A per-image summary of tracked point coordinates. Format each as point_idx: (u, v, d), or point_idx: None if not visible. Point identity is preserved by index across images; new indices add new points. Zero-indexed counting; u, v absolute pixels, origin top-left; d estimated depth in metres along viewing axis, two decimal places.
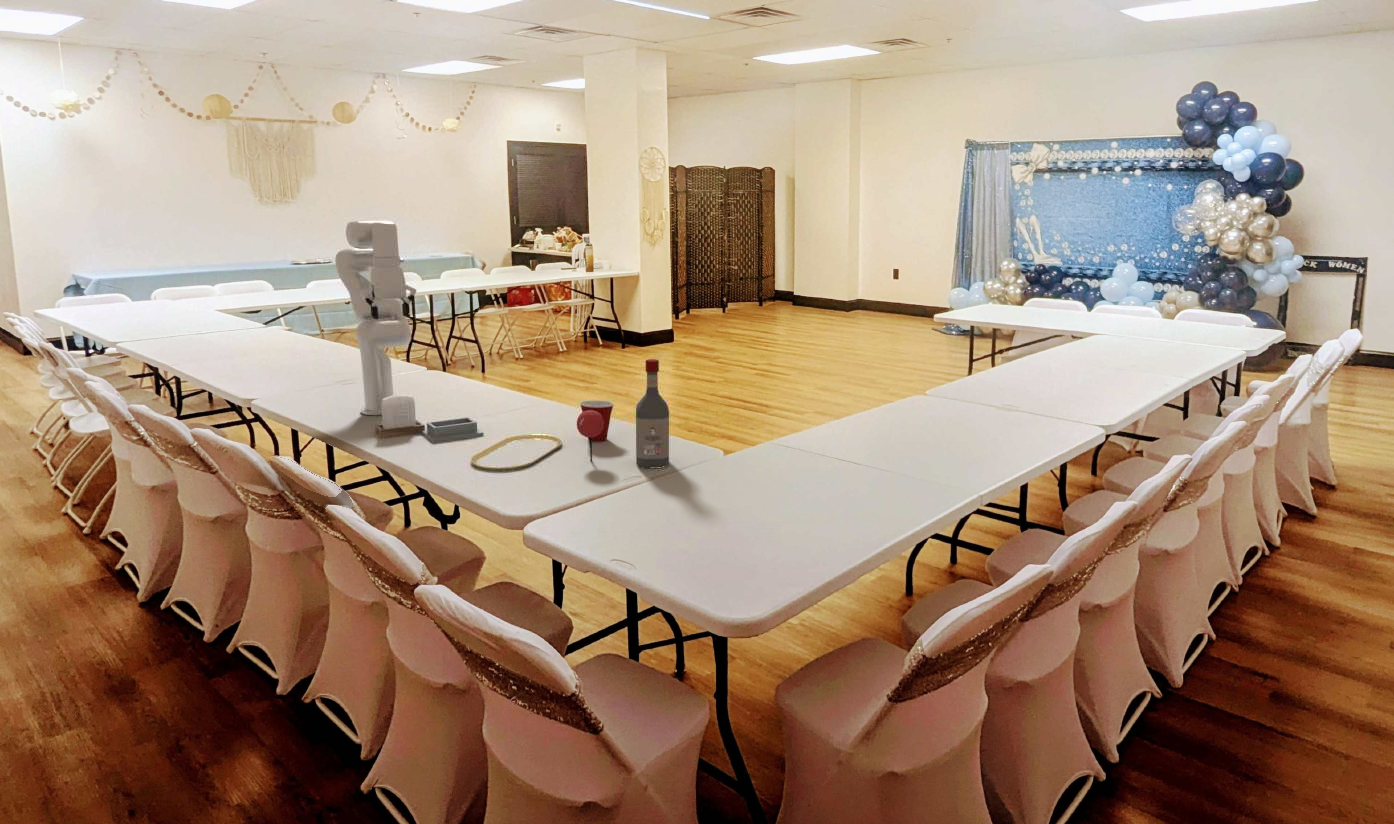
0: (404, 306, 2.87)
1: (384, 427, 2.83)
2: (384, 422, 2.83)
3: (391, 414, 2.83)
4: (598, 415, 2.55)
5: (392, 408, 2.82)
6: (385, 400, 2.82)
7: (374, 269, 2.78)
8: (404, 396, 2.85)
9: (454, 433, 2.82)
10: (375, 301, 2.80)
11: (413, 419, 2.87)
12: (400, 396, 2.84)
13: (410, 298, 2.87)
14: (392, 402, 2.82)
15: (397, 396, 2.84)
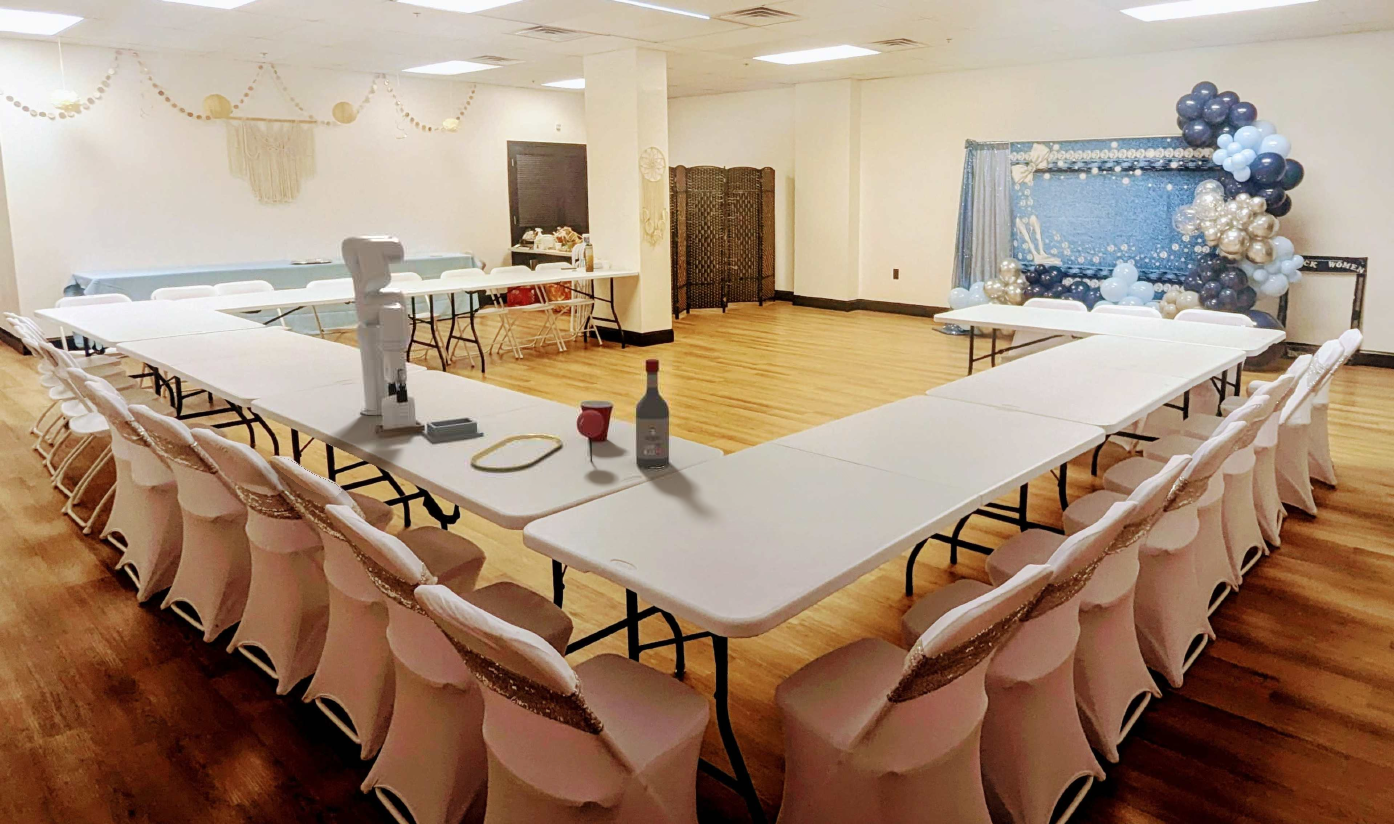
0: (395, 387, 2.87)
1: (384, 427, 2.83)
2: (384, 422, 2.83)
3: (391, 414, 2.83)
4: (598, 415, 2.55)
5: (392, 408, 2.82)
6: (385, 400, 2.82)
7: (401, 353, 2.78)
8: None
9: (454, 433, 2.82)
10: None
11: (413, 419, 2.87)
12: None
13: None
14: (392, 402, 2.82)
15: None
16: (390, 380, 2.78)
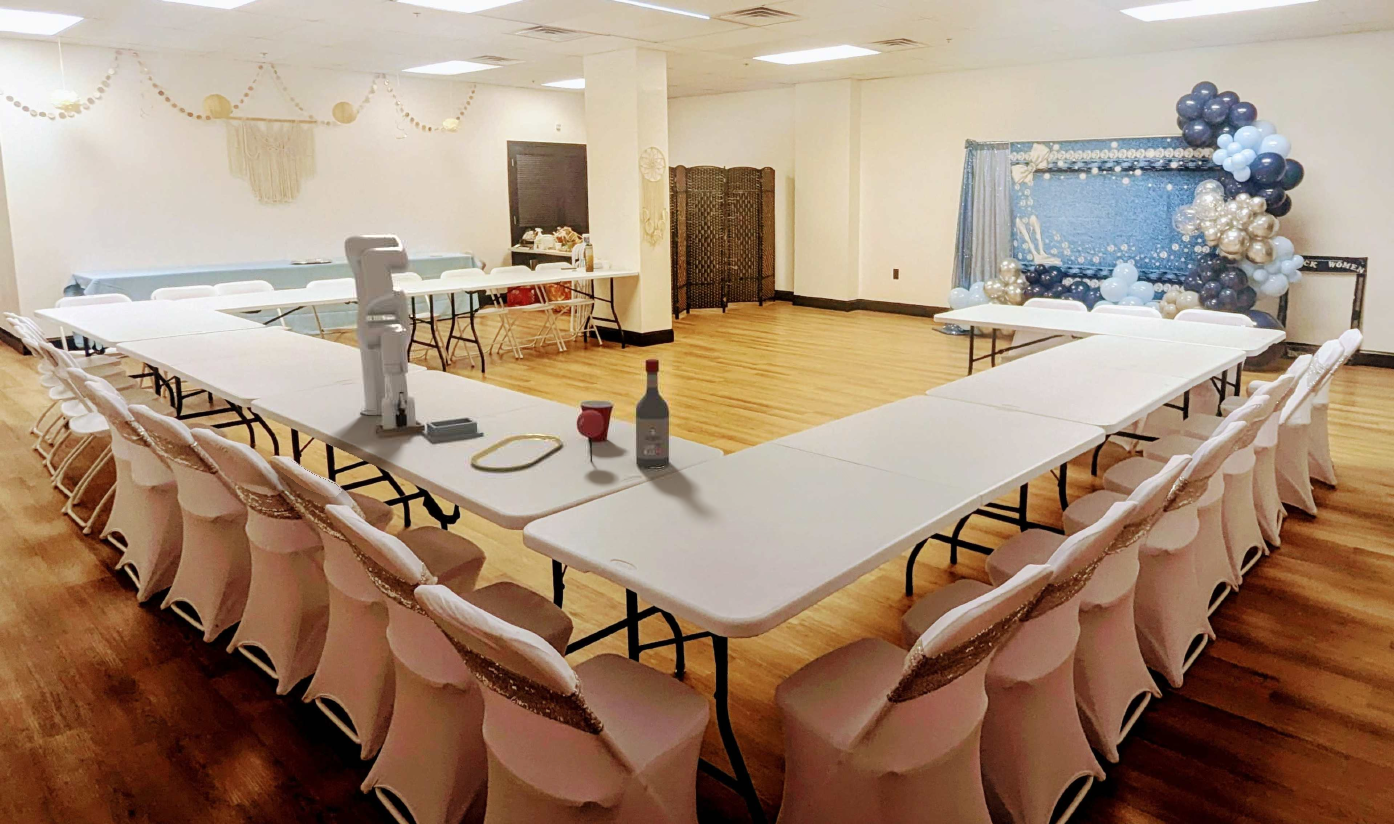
0: None
1: (384, 427, 2.83)
2: (384, 422, 2.83)
3: (391, 414, 2.82)
4: (598, 415, 2.55)
5: (392, 408, 2.82)
6: (385, 400, 2.82)
7: (402, 375, 2.80)
8: None
9: (454, 433, 2.82)
10: None
11: (413, 419, 2.87)
12: None
13: None
14: None
15: None
16: (391, 402, 2.80)
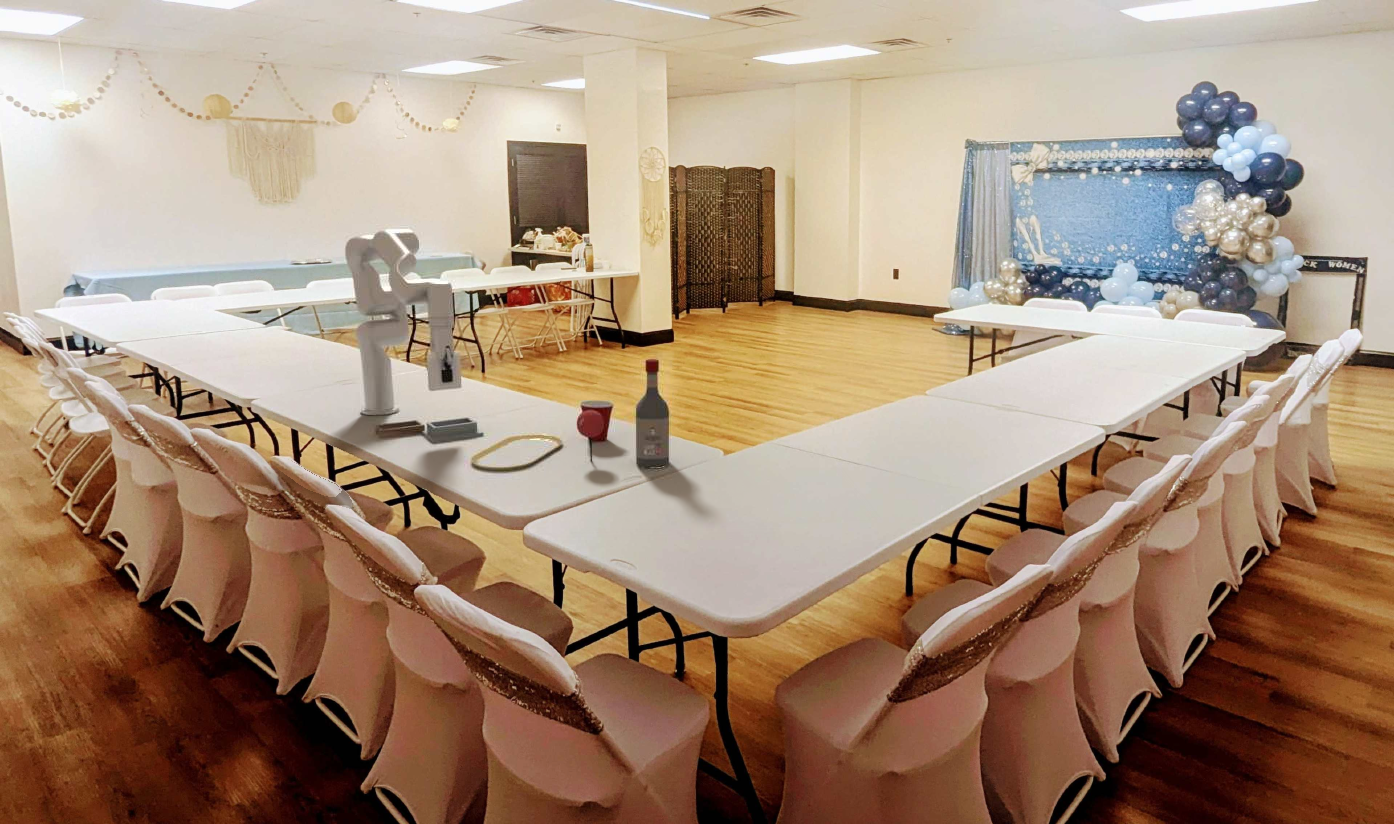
0: None
1: (429, 382, 2.78)
2: (429, 377, 2.78)
3: (436, 369, 2.77)
4: (598, 415, 2.55)
5: (438, 363, 2.77)
6: (431, 355, 2.77)
7: (449, 329, 2.75)
8: None
9: (454, 433, 2.82)
10: None
11: (458, 375, 2.82)
12: None
13: None
14: None
15: None
16: (437, 357, 2.75)
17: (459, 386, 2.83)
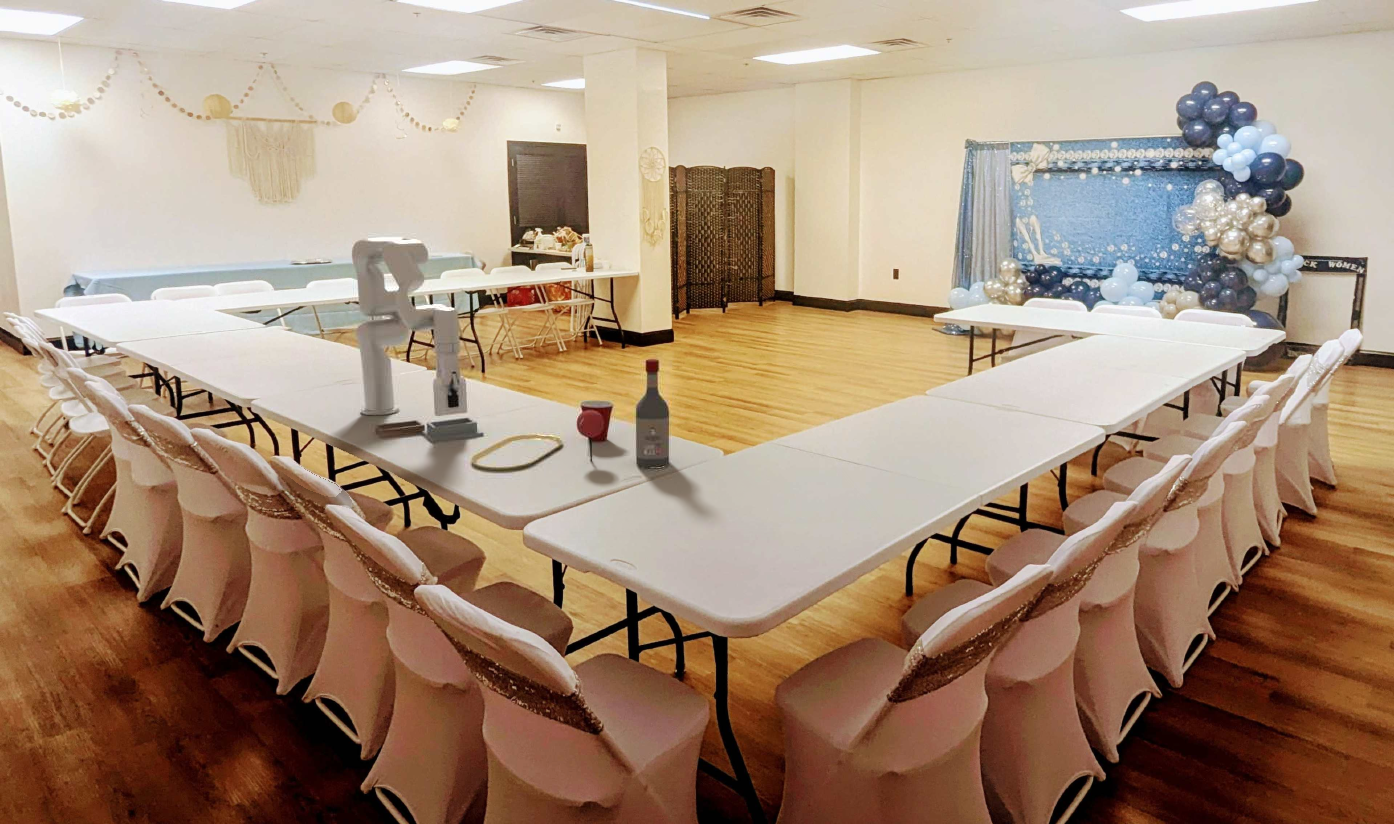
0: None
1: (436, 408, 2.80)
2: (436, 402, 2.80)
3: (442, 394, 2.79)
4: (598, 415, 2.55)
5: (444, 388, 2.79)
6: (437, 380, 2.78)
7: (455, 355, 2.77)
8: None
9: (454, 433, 2.82)
10: None
11: (464, 400, 2.84)
12: None
13: None
14: None
15: None
16: (444, 382, 2.77)
17: (465, 411, 2.84)
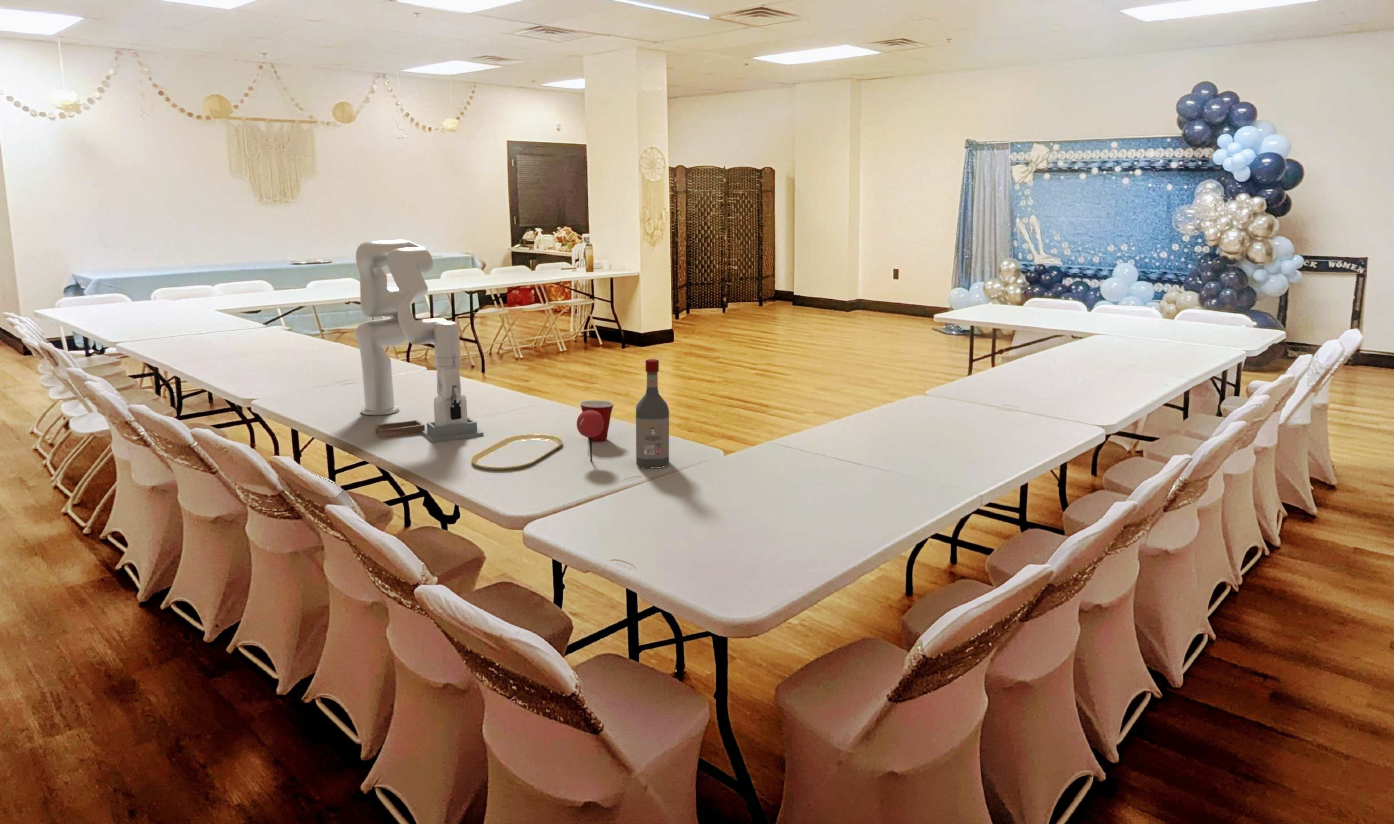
0: None
1: (436, 425, 2.82)
2: (436, 420, 2.81)
3: (443, 412, 2.81)
4: (598, 415, 2.55)
5: (444, 406, 2.81)
6: (437, 398, 2.80)
7: (456, 369, 2.78)
8: None
9: (454, 433, 2.82)
10: None
11: (465, 418, 2.85)
12: None
13: None
14: (444, 400, 2.80)
15: None
16: (444, 396, 2.78)
17: None
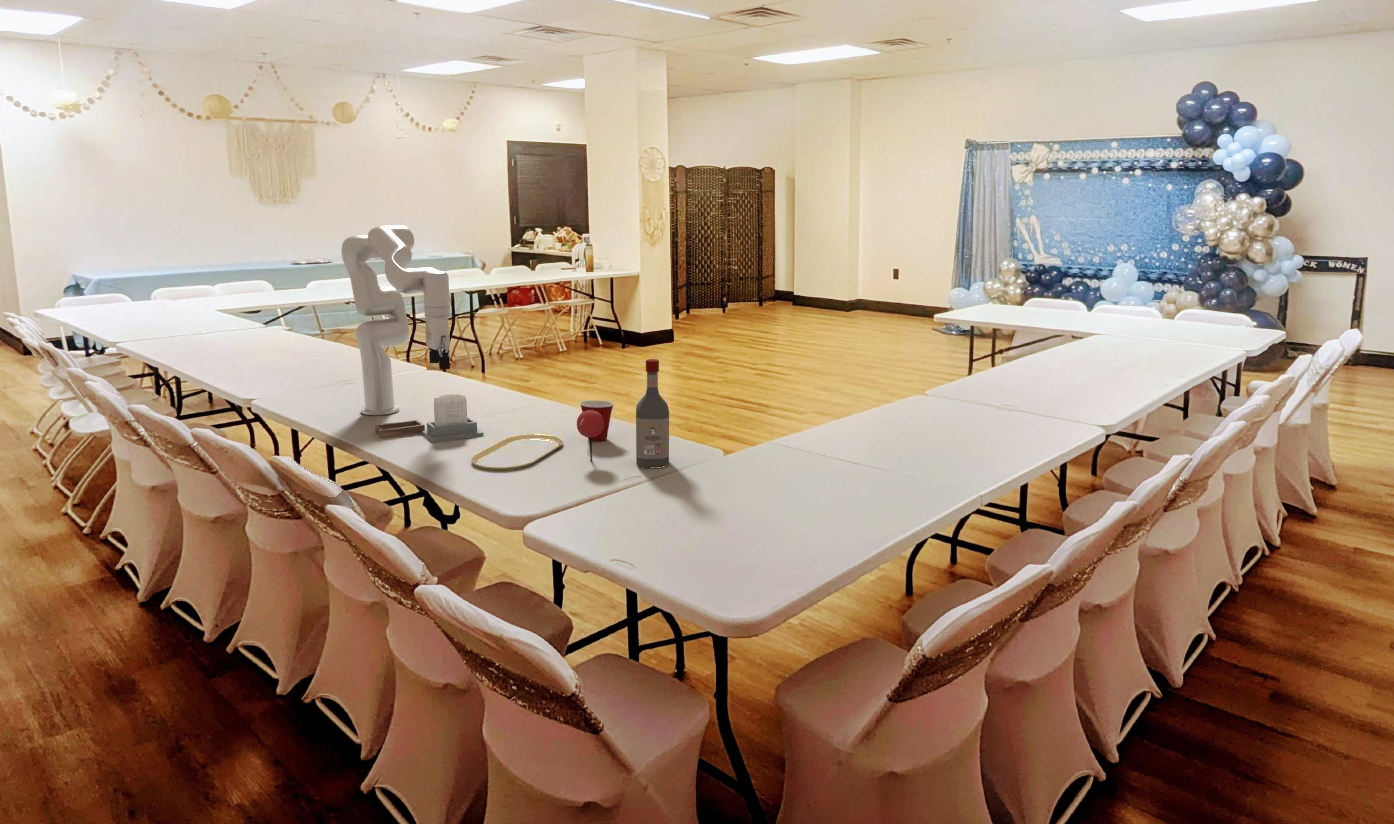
0: (436, 353, 2.85)
1: (436, 425, 2.82)
2: (436, 420, 2.81)
3: (443, 412, 2.81)
4: (598, 415, 2.55)
5: (444, 406, 2.81)
6: (437, 398, 2.80)
7: (445, 319, 2.75)
8: (456, 394, 2.83)
9: (454, 433, 2.82)
10: None
11: (465, 418, 2.85)
12: (452, 394, 2.82)
13: None
14: (444, 400, 2.80)
15: (449, 394, 2.82)
16: (433, 346, 2.76)
17: None
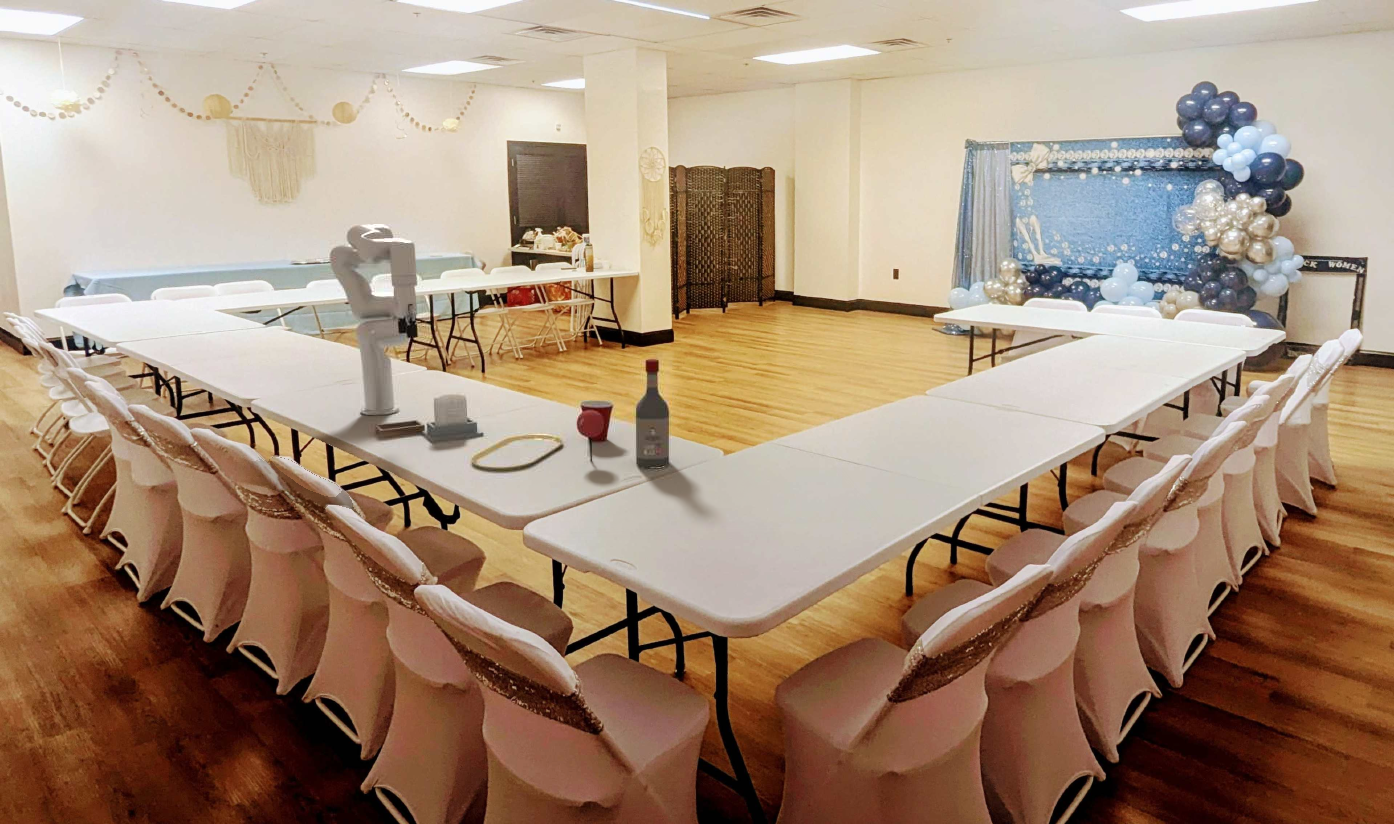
0: (404, 323, 2.89)
1: (436, 425, 2.82)
2: (436, 420, 2.81)
3: (443, 412, 2.81)
4: (598, 415, 2.55)
5: (444, 406, 2.81)
6: (437, 398, 2.80)
7: (411, 288, 2.79)
8: (456, 394, 2.83)
9: (454, 433, 2.82)
10: None
11: (465, 418, 2.85)
12: (452, 394, 2.82)
13: None
14: (444, 400, 2.80)
15: (449, 394, 2.82)
16: (400, 315, 2.80)
17: None
